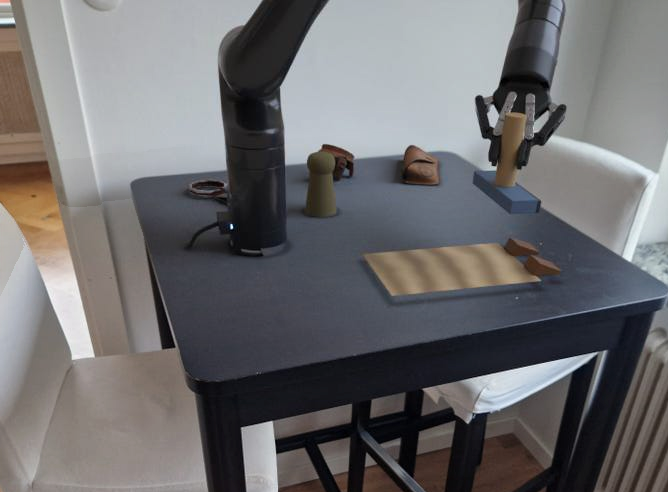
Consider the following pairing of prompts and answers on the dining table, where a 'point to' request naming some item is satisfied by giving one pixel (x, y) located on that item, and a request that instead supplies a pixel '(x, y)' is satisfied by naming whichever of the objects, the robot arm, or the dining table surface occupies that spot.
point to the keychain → (218, 194)
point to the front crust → (541, 266)
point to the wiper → (508, 171)
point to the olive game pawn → (320, 185)
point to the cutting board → (447, 268)
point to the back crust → (520, 248)
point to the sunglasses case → (419, 167)
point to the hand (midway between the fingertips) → (506, 164)
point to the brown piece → (339, 161)
